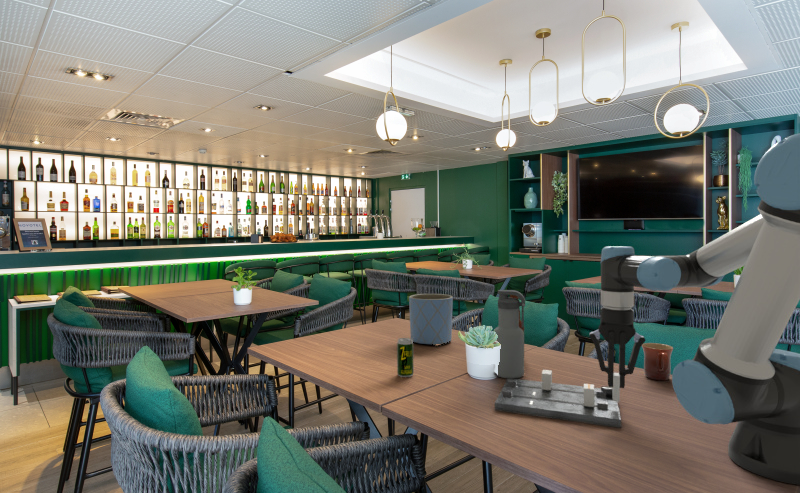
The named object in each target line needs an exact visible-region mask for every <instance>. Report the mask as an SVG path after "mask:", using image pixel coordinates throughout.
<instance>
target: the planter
mask: <svg viewBox="0 0 800 493" xmlns="http://www.w3.org/2000/svg"><path fill="white" fill-rule="evenodd" d="M453 299H454V297H453V295H450V294H443V293H418V294H417V293H416V294H412V295H410V296H409V297H408V300H409V301H408V302H409V304H408V305H409V307H408V308H409V309H408V310H409V327H410V328H409V330H410V338H411V339H413V342H414V343H417V344H421V345H422V344H424V345H432V344H433V346H434V345H436V344H443V343H445V344H447V342H448V343H450V342H451V341H452V336H453V334H452V333H453V331H452V330H453V305H454V304H453V302H454V300H453ZM449 341H450V342H449ZM443 345H444V344H443Z"/></svg>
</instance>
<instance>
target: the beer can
mask: <svg viewBox="0 0 800 493" xmlns="http://www.w3.org/2000/svg"><path fill="white" fill-rule="evenodd" d="M396 350H397V351H396V353H397V355H396V356H397V357H396V360H397V361H396V363H397V366H396V367H397V368H396V370H397V376H398V377H399V376H400V377H399V378H402V377H409V378H411V376H412V377H413V376H414V372H415V370H414V366H415V365H414V343H413V339H411V337H402V338H398V339H397V343H396Z"/></svg>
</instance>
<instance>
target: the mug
mask: <svg viewBox="0 0 800 493" xmlns="http://www.w3.org/2000/svg"><path fill="white" fill-rule="evenodd" d="M641 348H642V350H643V356H644V358H643V372H644V375H645V377H646V378H647V379H650V380H653V381H659V380H665V381H668V380H669V379H670V378H671V373H672V371H671V370H672V369H671V365H672V364H671V358H672V357H671V356H672V352H673V351H674V346H671V345H668V344H664V343H657V342H656V343H655V342H644V343H643V345H642V346H641Z"/></svg>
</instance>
